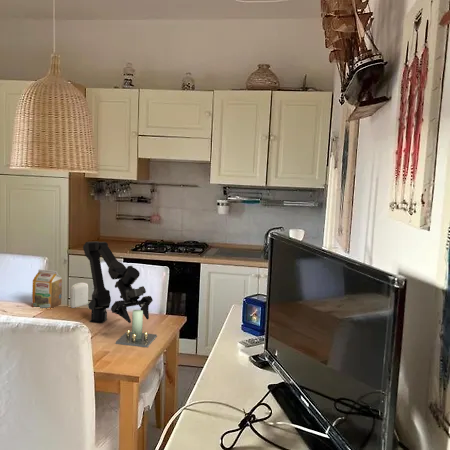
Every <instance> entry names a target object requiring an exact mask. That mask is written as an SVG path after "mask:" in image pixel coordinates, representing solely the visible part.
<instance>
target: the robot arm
mask: <svg viewBox="0 0 450 450" xmlns="http://www.w3.org/2000/svg"><path fill="white" fill-rule="evenodd" d="M82 250H83V252H84V256H85V257H86V258H87V259H88V261H89V265H90V270H91V272H90V273H91V277H92V284H93V292H92V294H91V300H90V302H88V304H87V305H88V309H89V310H91V312H90V313H91V315H90V320H89V323H97V324H98V323H99V324H103V323H105V322H106V321H107V320H108V311H107V309H109V308H110V311H111V313H112V314H116V315H118V316H120V317H121V318H122V319H124V321H126V322H127V323H128V324H132V318H131V317H130V315H129V313H128V311H127V310H128V309H127V308H128V307H134V306H139V307H140V310H142V311H143V317H144V318H145V319H146V320H149V319H150V317H149V315H150V312H149V307H150V305H151V304H152V302H153V301H154V300H153V297H152V296H151V295H147V296H144V294H146V292H147V291H146V288H145V286H143V285H142V286H139V287H138V288H135V287H134V288H133V286H132V285H133V284H134V283H135V282H136V281H137V280H138V278H139V277H140V271H139V270H138V269H137V268H136V267H134V266H133V265H128V266H125V265H124V264H123V263H122V262H120V261H119V260H117V258H116V257H115V255H114V254H113V252H112V250H111V249H110V247H109V245H108V243H107V242H106V241H85V243H84V244H83V246H82ZM101 258H102V260H103V261H104V262H105V263H106V265H107V267H108V271H107V272H108V275H109V277H110V279H111V280H117V281H115V284H114V288H115V289H116V288H118V291H119V293H120V295H119V298H120V299H121V300H115V302H114V303H113V304H112V306H111V307H110V305H111V301H112V296H111V294H110V293H111V292H110V290H109V289H107V288H106V287H105V282H104V276H103V270H102V264H101ZM141 296H143V297H142V298H141ZM139 299H140V300H139Z"/></svg>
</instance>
